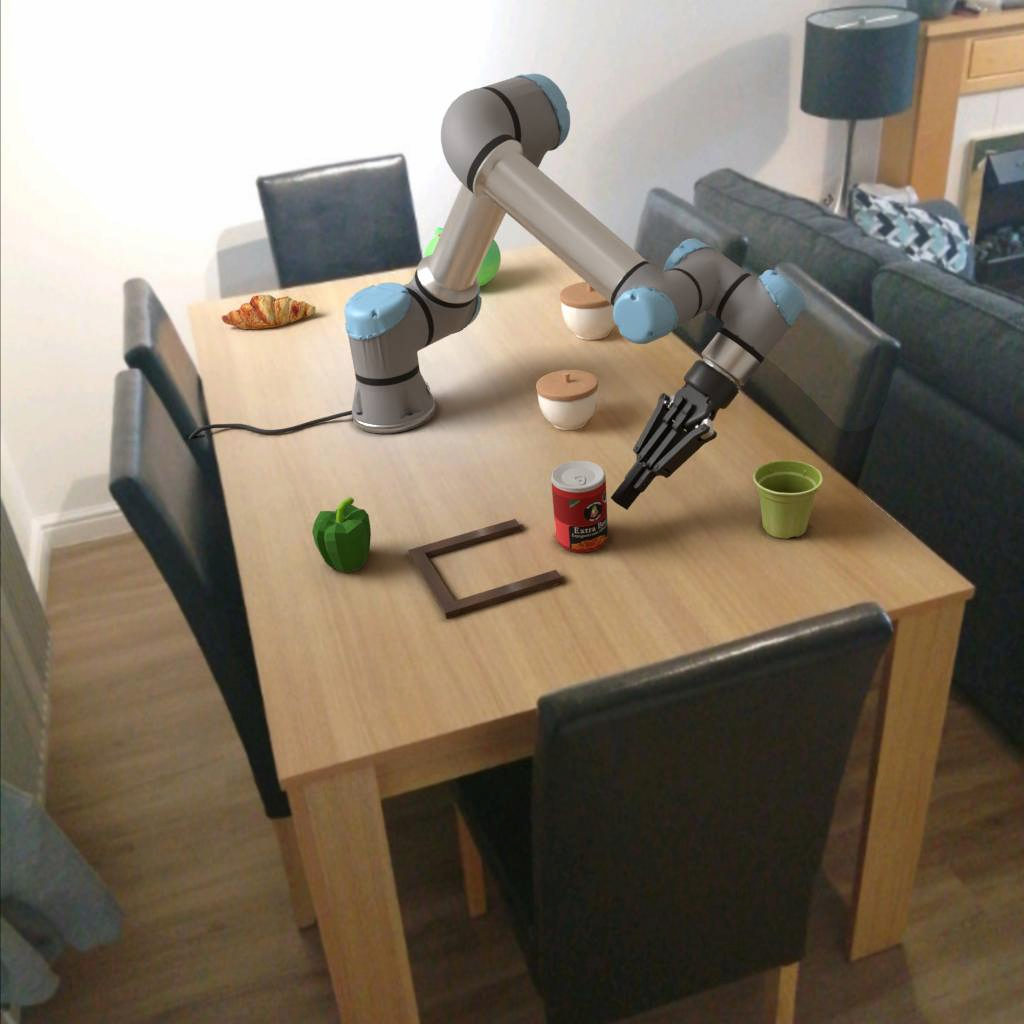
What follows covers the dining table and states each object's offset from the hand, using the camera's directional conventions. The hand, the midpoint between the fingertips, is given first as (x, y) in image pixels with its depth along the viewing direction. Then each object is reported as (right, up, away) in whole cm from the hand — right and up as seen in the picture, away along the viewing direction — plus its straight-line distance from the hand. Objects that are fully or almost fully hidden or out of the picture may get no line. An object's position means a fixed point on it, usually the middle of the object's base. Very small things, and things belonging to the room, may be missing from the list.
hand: (618, 503), depth 151 cm
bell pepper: (-39, -9, +1) cm, 40 cm away
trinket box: (-5, +14, +32) cm, 36 cm away
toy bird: (-26, +52, +96) cm, 113 cm away
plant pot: (+24, -4, -2) cm, 24 cm away
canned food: (-5, -5, +1) cm, 8 cm away
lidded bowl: (+1, +36, +65) cm, 75 cm away
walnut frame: (-19, -9, -3) cm, 21 cm away
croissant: (-71, +42, +87) cm, 119 cm away
